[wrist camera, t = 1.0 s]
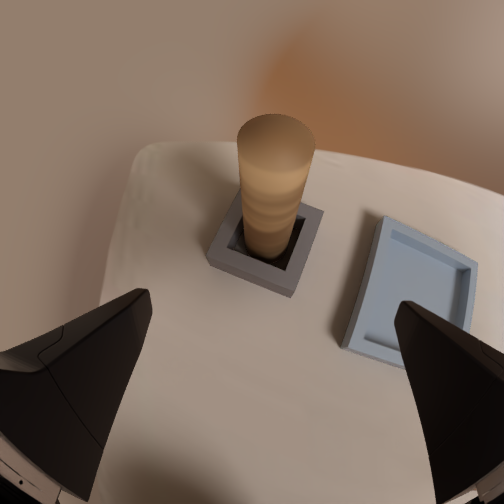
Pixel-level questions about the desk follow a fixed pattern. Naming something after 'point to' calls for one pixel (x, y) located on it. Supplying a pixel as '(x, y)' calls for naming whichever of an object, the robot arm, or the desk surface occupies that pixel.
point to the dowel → (272, 181)
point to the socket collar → (254, 269)
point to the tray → (407, 288)
